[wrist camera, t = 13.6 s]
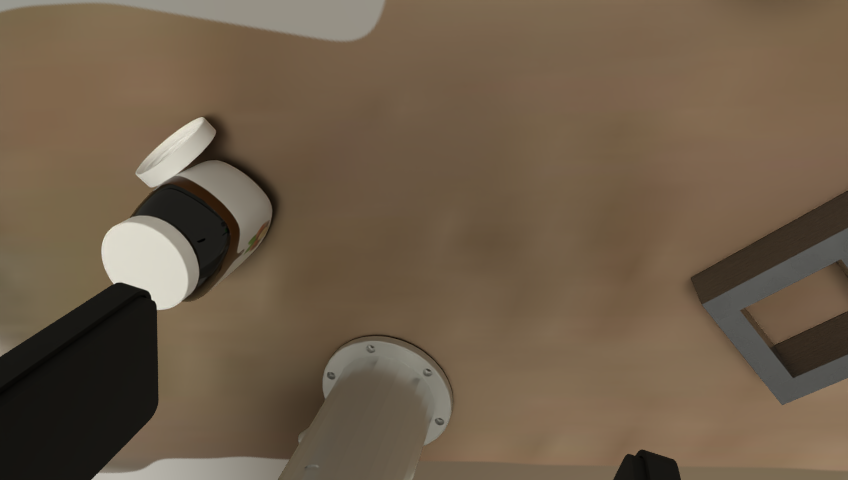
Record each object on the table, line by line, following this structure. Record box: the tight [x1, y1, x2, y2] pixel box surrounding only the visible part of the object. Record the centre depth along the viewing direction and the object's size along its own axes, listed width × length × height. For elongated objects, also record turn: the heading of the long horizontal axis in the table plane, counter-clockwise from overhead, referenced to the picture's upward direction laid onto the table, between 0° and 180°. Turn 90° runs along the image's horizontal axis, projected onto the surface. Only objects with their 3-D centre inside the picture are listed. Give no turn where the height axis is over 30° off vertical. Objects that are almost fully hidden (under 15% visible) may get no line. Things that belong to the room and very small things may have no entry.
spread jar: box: [101, 117, 273, 310], centre depth 43 cm, size 12×11×12 cm
